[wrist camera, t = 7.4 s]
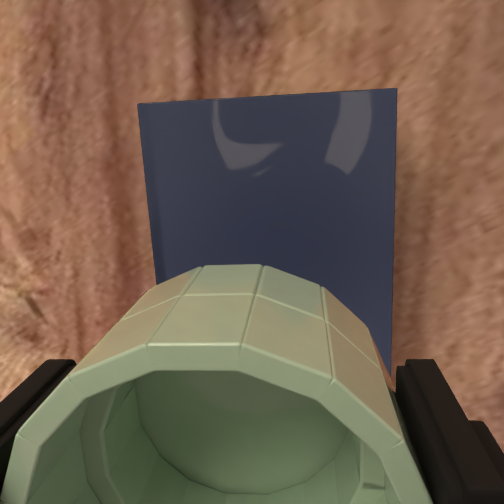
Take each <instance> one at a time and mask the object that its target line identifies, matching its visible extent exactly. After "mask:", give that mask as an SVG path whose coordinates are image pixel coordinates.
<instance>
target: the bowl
mask: <svg viewBox="0 0 504 504" xmlns="http://www.w3.org/2000/svg"><path fill="white" fill-rule="evenodd" d="M0 500H1V501H0V504H434V501H433V498H432V495H431V492H430V490H429V487H428V484H427V481H426V478H425V475H424V473H423V470H422V467H421V464H420V461H419V458H418V455H417V453H416V450H415V447H414V444H413V441H412V438H411V436H410V433H409V430H408V427H407V424H406V421H405V419H404V416H403V413H402V410H401V407H400V404H399V401H398V399H397V396H396V393H395V390H394V387H393V384H392V382H391V379H390V376H389V374H388V371H387V369H386V367H385V365H384V362H383V360H382V358H381V356H380V353H379V351H378V349H377V347H376V345H375V342H374V340H373V338H372V336H371V333H370V331H369V329H368V328H367V327H366V325H365V324H364V323H363V322H362V321H361V320H360V319H359V318H358V317H356V316H355V315H354V314H353V313H352V312H351V311H350V310H349V309H348V308H347V307H345V306H344V305H343V304H342V303H341V302H340V301H339V300H338V299H337V298H336V297H335V296H333V295H332V294H331V293H330V292H329V291H328V290H327V289H326V288H325V287H321V286H320V285H318V284H316V283H313V282H310V281H308V280H305V279H302V278H300V277H297V276H294V275H292V274H289V273H286V272H284V271H281V270H278V269H275V268H273V267H270V266H264V267H263V266H262V265H260V264H243V265H206V266H203V267H197V268H195V269H192V270H190V271H188V272H186V273H183V274H181V275H179V276H176V277H174V278H172V279H170V280H167V281H165V282H163V283H161V284H158V285H156V286H154V287H152V288H151V289H150V290H148V291H146V292H145V293H144V294H143V295H142V296H141V298H140V299H139V300H138V301H137V302H136V303H135V304H134V305H133V306H132V307H131V308H130V309H129V310H128V311H127V312H126V313H125V314H124V316H123V317H122V318H121V319H120V320H119V321H118V322H117V323H116V324H115V325H114V326H113V327H112V328H111V329H110V330H109V331H108V332H107V334H106V335H105V336H104V337H103V338H102V339H101V340H100V341H99V342H98V343H97V344H96V345H95V346H94V347H93V348H92V349H91V350H90V352H89V353H88V354H87V355H86V356H85V357H84V358H83V359H82V360H81V361H80V362H79V363H78V364H77V365H76V366H75V367H74V369H73V370H72V371H71V372H70V373H69V374H68V375H67V376H66V377H65V378H64V379H63V380H62V381H61V383H60V384H59V385H58V386H57V387H56V388H55V389H54V390H53V391H52V393H51V394H50V395H49V396H48V397H47V398H46V399H45V400H44V402H43V403H42V404H41V405H40V406H39V407H38V408H37V409H36V410H35V412H34V413H33V414H32V415H31V416H30V417H29V418H28V419H27V421H26V422H25V423H24V424H23V425H22V426H21V427H20V428H19V430H18V433H17V434H16V436H15V440H14V444H13V448H12V452H11V456H10V460H9V464H8V468H7V472H6V476H5V480H4V484H3V488H2V492H1V496H0Z"/></svg>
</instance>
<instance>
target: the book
mask: <svg viewBox="0 0 504 504" xmlns="http://www.w3.org/2000/svg"><path fill="white" fill-rule="evenodd" d="M137 107H138V116H139V126H140V135H141V145H142V154H143V163H144V173H145V182H146V192H147V201H148V210H149V220H150V229H151V239H152V248H153V257H154V267H155V276H156V285H158V284H161V283H163V282H165V281H167V280H170V279H172V278H174V277H176V276H179V275H181V274H183V273H186V272H188V271H190V270H192V269H195V268H197V267H203V266H206V265H243V264H260V265H262V266H263V267H264V266H270V267H273V268H275V269H278V270H281V271H284V272H286V273H289V274H292V275H294V276H297V277H300V278H302V279H305V280H308V281H310V282H313V283H316V284H318V285H320V286H321V287H325V288H326V289H327V290H328V291H329V292H330V293H331V294H332V295H333V296H335V297H336V298H337V299H338V300H339V301H340V302H341V303H342V304H343V305H344V306H345V307H347V308H348V309H349V310H350V311H351V312H352V313H353V314H354V315H355V316H356V317H358V318H359V319H360V320H361V321H362V322H363V323H364V324H365V325H366V327H367V328H368V329H369V331H370V333H371V336H372V338H373V340H374V342H375V345H376V347H377V349H378V351H379V353H380V356H381V358H382V360H383V362H384V365H385V367H386V369H387V371H388V374H389V376H390V379H391V346H392V303H393V259H394V215H395V172H396V128H397V88H389V89H372V90H355V91H339V92H322V93H305V94H288V95H272V96H255V97H238V98H222V99H205V100H188V101H171V102H155V103H138V104H137Z"/></svg>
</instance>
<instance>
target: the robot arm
mask: <svg viewBox="0 0 504 504" xmlns="http://www.w3.org/2000/svg"><path fill="white" fill-rule="evenodd" d="M76 365H77V364H76V362H75V361H74V360H73V359H48V360H47V361H45V362H44V363H43V364H42V365H41V366H40V367H39V368H38V369H36V370H35V371H34V372H33V373H32V374H31V375H30V376H29V377H28V378H27V379H26V380H24V381H23V382H22V383H21V384H20V385H19V386H18V387H17V388H16V389H15V390H13V391H12V392H11V393H10V394H9V395H8V396H7V397H6V398H5V399H4V400H3V401H1V402H0V496H1V492H2V488H3V484H4V480H5V476H6V472H7V468H8V464H9V460H10V456H11V452H12V448H13V444H14V440H15V436H16V434H17V433H18V430H19V428H20V427H21V426H22V425H23V424H24V423H25V422H26V421H27V419H28V418H29V417H30V416H31V415H32V414H33V413H34V412H35V410H36V409H37V408H38V407H39V406H40V405H41V404H42V403H43V402H44V400H45V399H46V398H47V397H48V396H49V395H50V394H51V393H52V391H53V390H54V389H55V388H56V387H57V386H58V385H59V384H60V383H61V381H62V380H63V379H64V378H65V377H66V376H67V375H68V374H69V373H70V372H71V371H72V370H73V369H74V367H75V366H76ZM396 396H397V399H398V401H399V404H400V407H401V410H402V413H403V416H404V419H405V421H406V424H407V427H408V430H409V433H410V436H411V438H412V441H413V444H414V447H415V450H416V453H417V455H418V458H419V461H420V464H421V467H422V470H423V473H424V475H425V478H426V481H427V484H428V487H429V490H430V492H431V495H432V498H433V501H434V504H504V453H503V452H502V450H501V448H500V447H499V445H498V444H497V442H496V440H495V439H494V437H493V436H492V434H491V432H490V431H489V429H488V427H487V426H486V425H485V424H484V422H482V421H471V420H468V419H467V417H466V415H465V413H464V412H463V410H462V408H461V406H460V405H459V403H458V401H457V399H456V398H455V396H454V394H453V392H452V391H451V389H450V387H449V385H448V383H447V382H446V380H445V378H444V376H443V375H442V373H441V371H440V369H439V368H438V366H437V364H436V362H435V361H434V360H433V359H407V360H406V363H405V366H397V370H396ZM0 501H1V500H0Z"/></svg>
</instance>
